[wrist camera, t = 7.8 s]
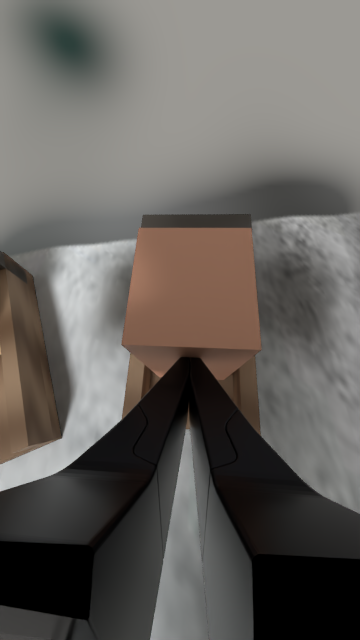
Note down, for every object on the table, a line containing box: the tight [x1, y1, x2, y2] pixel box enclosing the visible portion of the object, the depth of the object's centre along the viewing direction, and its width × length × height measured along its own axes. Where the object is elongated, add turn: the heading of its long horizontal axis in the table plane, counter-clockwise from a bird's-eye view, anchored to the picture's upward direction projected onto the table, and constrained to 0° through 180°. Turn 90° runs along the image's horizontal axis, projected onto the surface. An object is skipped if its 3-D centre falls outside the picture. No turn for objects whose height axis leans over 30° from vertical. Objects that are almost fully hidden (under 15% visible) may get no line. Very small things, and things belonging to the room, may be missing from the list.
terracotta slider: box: [121, 228, 262, 380], centre depth 12 cm, size 5×5×9 cm
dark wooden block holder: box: [122, 214, 261, 436], centre depth 16 cm, size 15×8×5 cm, turn 177°
